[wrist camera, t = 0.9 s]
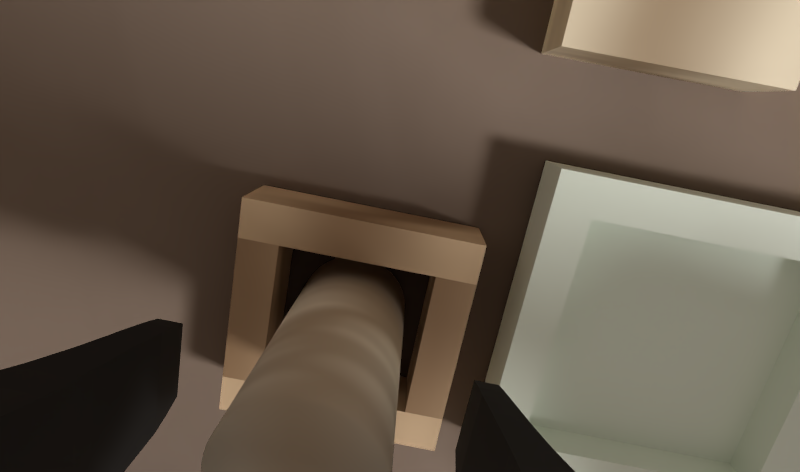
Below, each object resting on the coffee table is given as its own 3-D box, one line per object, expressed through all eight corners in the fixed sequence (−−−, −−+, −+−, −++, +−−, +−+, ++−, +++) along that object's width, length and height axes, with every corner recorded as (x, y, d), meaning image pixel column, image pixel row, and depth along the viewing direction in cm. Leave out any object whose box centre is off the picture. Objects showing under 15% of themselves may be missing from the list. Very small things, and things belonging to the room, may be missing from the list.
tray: (861, 224, 15) (918, 240, 14) (739, 484, 18) (773, 526, 16) (545, 160, 15) (561, 168, 13) (470, 432, 18) (475, 467, 16)
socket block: (478, 227, 16) (486, 245, 14) (433, 412, 18) (434, 450, 16) (263, 185, 16) (242, 197, 14) (241, 375, 18) (219, 408, 16)
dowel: (414, 267, 16) (407, 419, 9) (394, 360, 17) (372, 571, 10) (310, 246, 16) (209, 381, 9) (296, 340, 17) (194, 537, 10)
